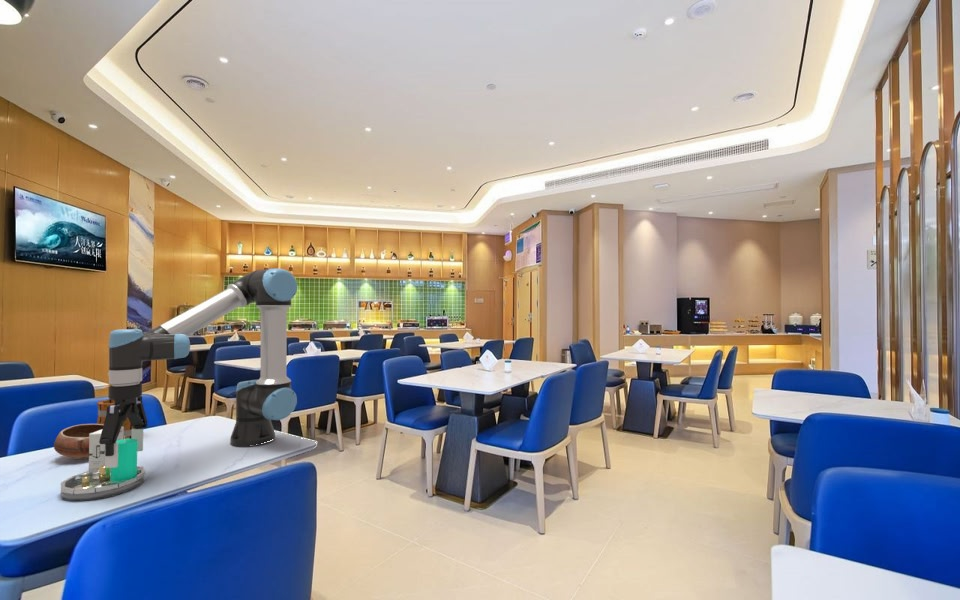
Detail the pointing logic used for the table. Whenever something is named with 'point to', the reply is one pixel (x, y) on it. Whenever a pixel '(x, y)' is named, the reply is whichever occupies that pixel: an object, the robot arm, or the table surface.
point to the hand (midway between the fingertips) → (124, 458)
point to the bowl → (75, 440)
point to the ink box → (98, 449)
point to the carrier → (98, 485)
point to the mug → (102, 415)
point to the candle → (125, 460)
